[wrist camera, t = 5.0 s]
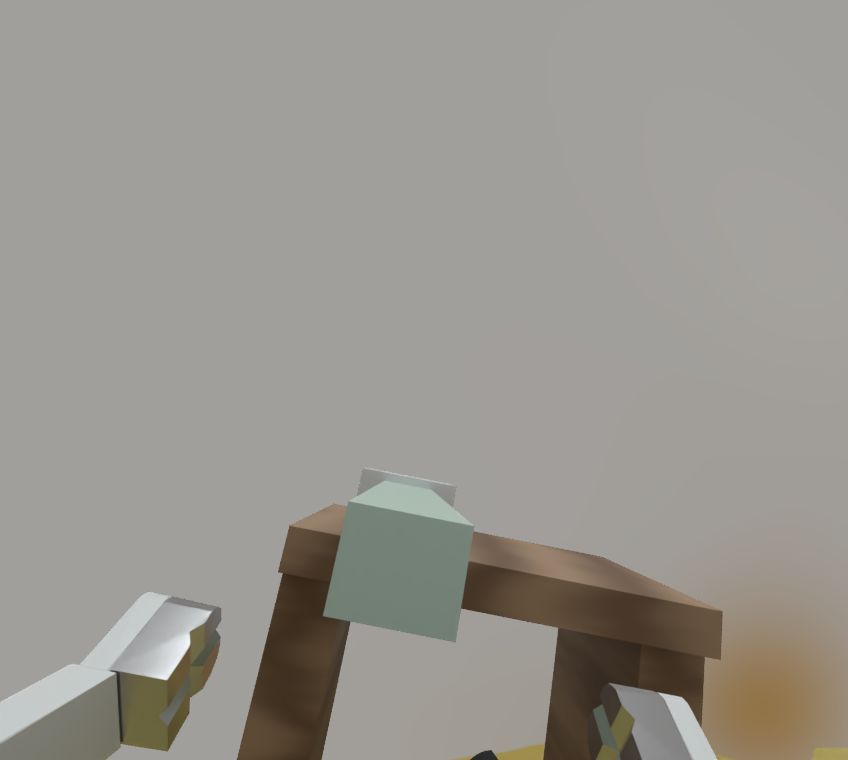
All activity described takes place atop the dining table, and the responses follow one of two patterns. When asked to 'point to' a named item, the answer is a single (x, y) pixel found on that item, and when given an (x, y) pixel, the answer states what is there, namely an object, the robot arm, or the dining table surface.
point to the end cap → (485, 756)
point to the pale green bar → (401, 557)
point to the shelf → (493, 594)
